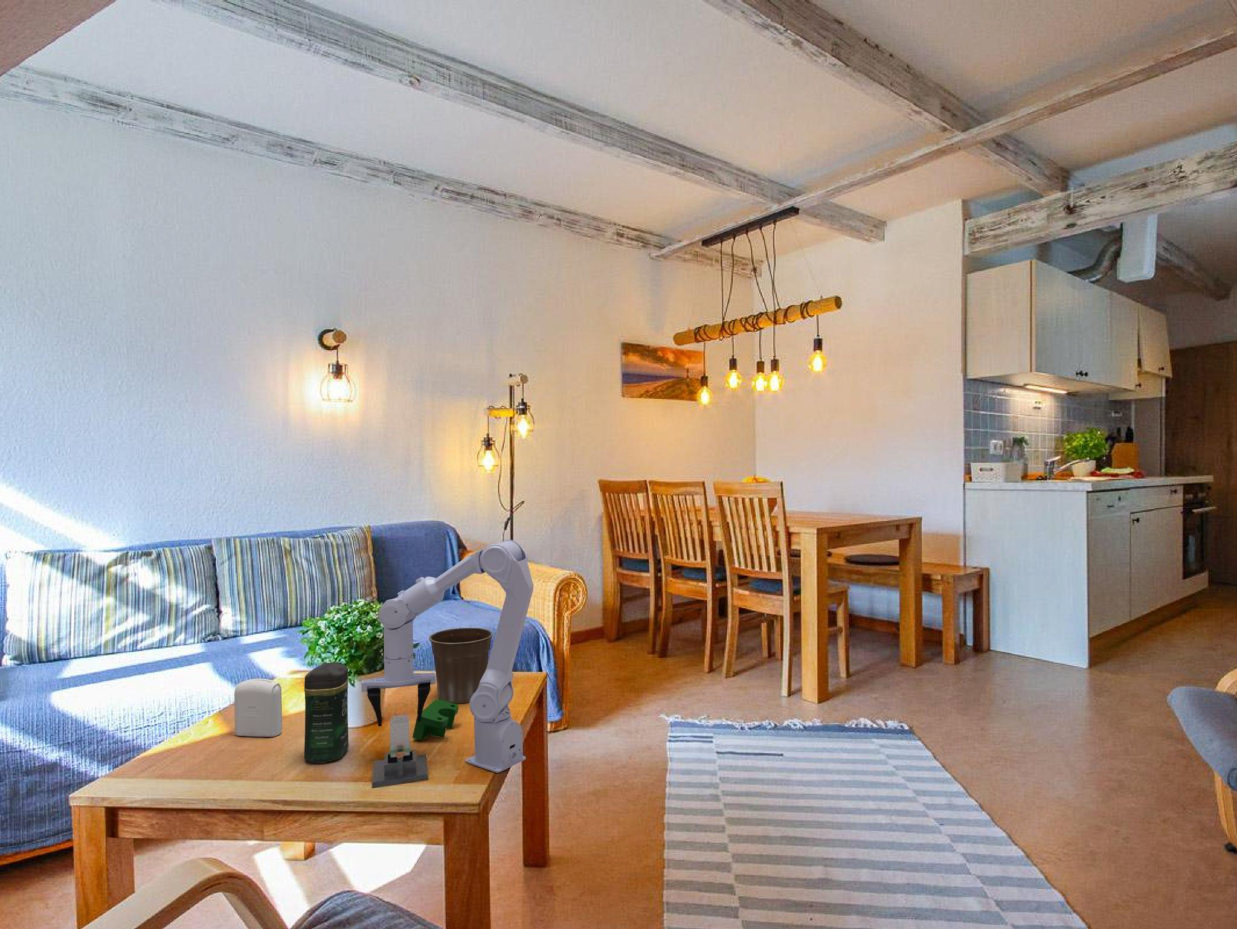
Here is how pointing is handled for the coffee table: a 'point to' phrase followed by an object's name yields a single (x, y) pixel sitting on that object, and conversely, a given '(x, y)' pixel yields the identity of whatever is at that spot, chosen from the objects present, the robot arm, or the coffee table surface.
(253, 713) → the photo printer
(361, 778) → the coffee table surface
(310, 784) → the coffee table surface
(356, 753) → the coffee table surface
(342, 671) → the coffee jar
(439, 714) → the clamp
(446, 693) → the plant pot
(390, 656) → the robot arm
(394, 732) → the pull-out drawer
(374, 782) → the grey slotted holder
